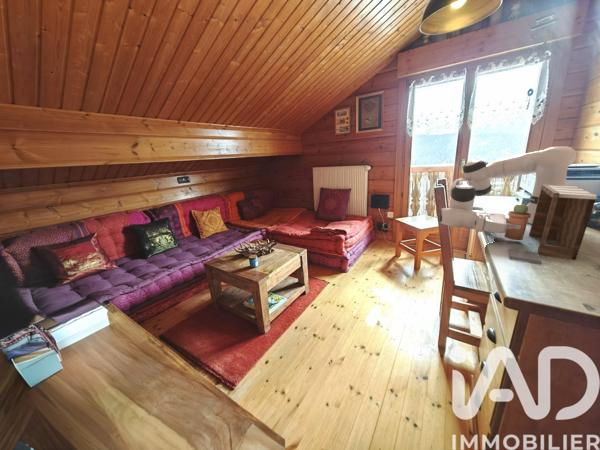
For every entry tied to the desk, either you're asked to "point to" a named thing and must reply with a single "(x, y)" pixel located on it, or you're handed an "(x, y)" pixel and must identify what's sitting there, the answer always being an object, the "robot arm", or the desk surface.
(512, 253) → the slate tile
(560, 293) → the desk surface
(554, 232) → the slatted wooden crate
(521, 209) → the terracotta pot
